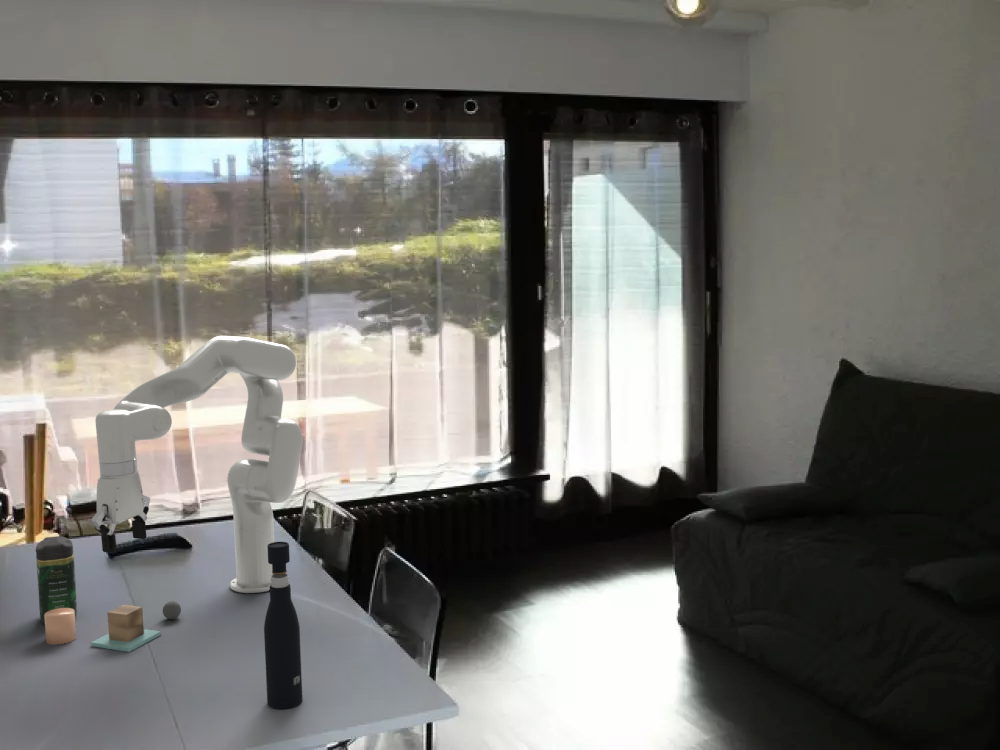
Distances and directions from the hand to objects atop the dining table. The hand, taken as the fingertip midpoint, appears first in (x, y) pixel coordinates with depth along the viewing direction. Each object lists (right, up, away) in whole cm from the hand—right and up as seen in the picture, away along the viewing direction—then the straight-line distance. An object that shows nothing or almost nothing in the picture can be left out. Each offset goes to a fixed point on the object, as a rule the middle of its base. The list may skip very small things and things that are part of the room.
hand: (125, 545), depth 228 cm
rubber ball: (+7, -17, +11) cm, 21 cm away
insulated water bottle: (+41, -24, -33) cm, 58 cm away
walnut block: (+1, -19, -1) cm, 19 cm away
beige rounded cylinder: (-14, -20, 0) cm, 25 cm away
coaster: (+1, -20, -1) cm, 20 cm away
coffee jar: (-19, -19, +13) cm, 30 cm away
